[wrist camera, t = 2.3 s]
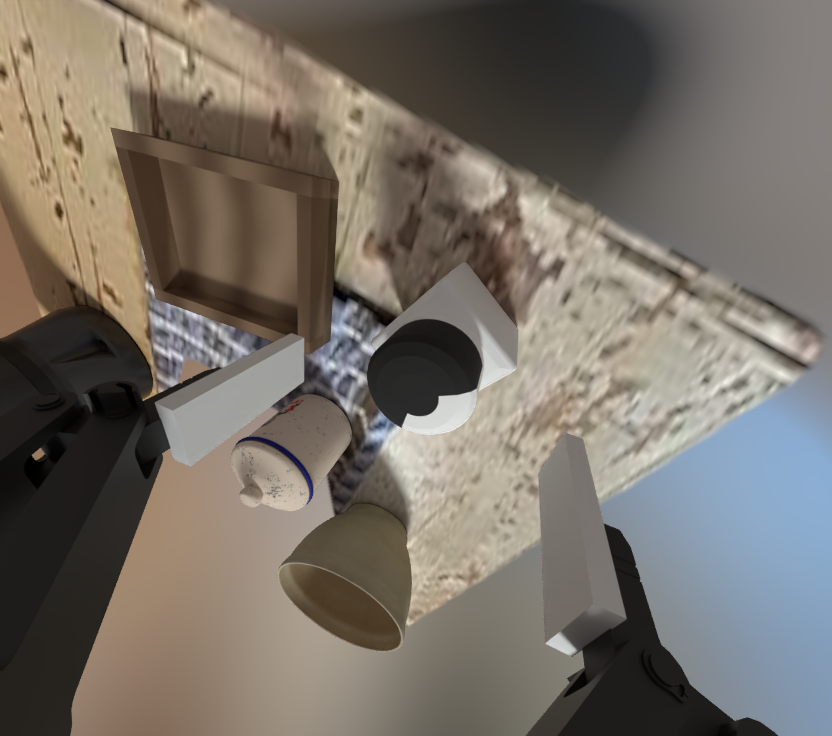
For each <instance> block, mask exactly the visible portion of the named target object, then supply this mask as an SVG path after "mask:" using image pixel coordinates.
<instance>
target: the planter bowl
mask: <svg viewBox="0 0 832 736" xmlns="http://www.w3.org/2000/svg"><path fill="white" fill-rule="evenodd" d="M406 545H407V533H406V530H405V528H404V527H403V525H402V524H401V522H400V521H399V520H398V519H397V518H396V517H395V516H393V515H392V514H391V513H389V512H388V511H386V510H385V509H383V508H380V507H378V506H375V505H372V504H366V503H359V504H355V505H353V506H351V507H350V508H349V509H348V510H347V511H346V512H344V513H341V514H339V515H337V516H334V517H332V518H331V519H329V520H327V521H325V522H324V523H322V524H321V525H319V526H318V527H317V528H315V529H314V530H313V531H312V532H311V533H310V534H308V535H307V536H306V537H305V538H304V539H303V541H302V542H301V543H300V544H299V545H298V546H297V548H296V549H295V550H294V551H293V553H292V554H291V556H289V557H288V558H287V559H286V560H285V561H284V562H283V563H282V564H281V566H280V567H279V569H278V572H277V578H278V582H279V585H280V587H281V589H282V591H283V592H284V594H285V595H286V597H287V598H288V599H289V600H290V601H291V603H292V604H293V605H294V606H295V607H296V608H297V609H298V610H299V611H301V612H302V613H303V614H304V615H305V616H306V617H307V618H309V619H310V620H311V621H313V622H314V623H315V624H317V625H318V626H319V627H321V628H322V629H324V630H325V631H327V632H328V633H330V634H331V635H333V636H335V637H337V638H339V639H341V640H343V641H345V642H347V643H350V644H352V645H355V646H357V647H360V648H364V649H367V650H371V651H376V652H391V651H395V650H397V649H398V648H400V647H401V645H402V642H403V639H404V635H405V624H406V620H407V616H408V612H409V607H410V600H411V589H412V576H411V564H410V558H409V553H408V550H407V546H406Z"/></svg>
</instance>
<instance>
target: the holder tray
mask: <svg viewBox="0 0 832 736" xmlns="http://www.w3.org/2000/svg"><path fill="white" fill-rule="evenodd" d="M110 128H111V127H110ZM111 132H112V135H113V139H114V143H115V147H116V150H117V154H118V158H119V161H120V165H121V169H122V173H123V176H124V180H125V184H126V188H127V191H128V195H129V199H130V203H131V206H132V210H133V214H134V217H135V221H136V225H137V229H138V232H139V236H140V240H141V244H142V247H143V251H144V255H145V259H146V262H147V266H148V270H149V273H150V277H151V281H152V285H153V288H154V292H155V296H156V299H158V300H160V301H163V302H166V303H169V304H171V305H174V306H177V307H180V308H182V309H185V310H188V311H191V312H193V313H196V314H199V315H202V316H204V317H207V318H210V319H213V320H215V321H218V322H221V323H224V324H226V325H229V326H232V327H235V328H237V329H240V330H243V331H246V332H248V333H251V334H254V335H257V336H259V337H262V338H265V339H268V340H270V341H273V342H275V341H277V340H279V339H281V338H283V337H285V336H287V335H289V334H291V333H293V334H295V335H298V336H301V337H304V353H306V354H309V355H310V354H311V353H313V352H314V351H316V350H317V349H319V348H320V347H322V346H323V345H325V344H326V343H328V342H329V341H330V336H331V318H332V299H333V281H334V263H335V244H336V226H337V208H338V190H339V182H338V181H334V180H330V179H326V178H322V177H318V176H314V175H309V174H305V173H301V172H297V171H293V170H289V169H285V168H281V167H277V166H273V165H269V164H265V163H261V162H256V161H252V160H248V159H244V158H240V157H236V156H232V155H228V154H224V153H220V152H216V151H212V150H208V149H204V148H199V147H195V146H191V145H187V144H183V143H179V142H175V141H171V140H167V139H163V138H159V137H154V136H149V135H145V134H140V133H135V132H130V131H125V130H120V129H116V128H111Z"/></svg>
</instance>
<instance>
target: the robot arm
mask: <svg viewBox="0 0 832 736" xmlns="http://www.w3.org/2000/svg"><path fill="white" fill-rule="evenodd" d="M303 382H304V337H301V336H298V335H295V334H293V333H291V334H289V335H287V336H285V337H283V338H281V339H279V340H277V341H275V342H273V343H271V344H269V345H267V346H265V347H263V348H261V349H259V350H257V351H255V352H253V353H251V354H249V355H247V356H245V357H243V358H241V359H239V360H237V361H235V362H233V363H231V364H230V365H228V366H226V367H224V368H220V367H218V368H214V369H211V370H207V371H204V372H202V373H200V374H198V375H196V376H194V377H193V378H192V379H191V378H189V379H188V380H185V381H183V383H182V384H181V383H179V384H177V385H175V386H173V387H171V388H169V389H167V390H165V391H163V392H161V393H159V394H157V395H155V396H153V397H151V398H148V399H146V400H144V401H143V400H142V399H144V398H146V397H148V396H149V395H150V393H151V391H152V386H153V384H152V377H151V373H150V370H149V367H148V365H147V363H146V361H145V359H144V357H143V355H142V354H141V352H140V350H139V349H138V348H137V346H136V345H135V343H134V342H133V341H132V340H131V338H130V337H129V336H128V335H127V334H126V333H125V332H124V331H123V329H121V328H120V327H119V326H118V325H117V324H116V323H115V322H114V321H113V320H111V319H110V318H109V317H107V316H106V315H104V314H103V313H101V312H100V311H98V310H96V309H94V308H91V307H88V306H83V305H79V306H74V307H69V308H64V309H60V310H57V311H54V312H52V313H50V314H48V315H46V316H44V317H42V318H40V319H39V320H37V321H35V322H33V323H31V324H29V325H27V326H26V327H23V328H21V329H20V330H18V331H16V332H14V333H12V334H10V335H8V336H6V337H3V338H0V736H70V734H71V728H72V715H71V714H72V713H71V708H72V702H73V699H74V695H75V692H76V689H77V687H78V684H79V681H80V679H81V676H82V674H83V671H84V668H85V666H86V663H87V660H88V658H89V655H90V652H91V650H92V647H93V644H94V641H95V639H96V636H97V634H98V631H99V628H100V626H101V623H102V620H103V618H104V615H105V612H106V610H107V607H108V605H109V602H110V599H111V597H112V594H113V591H114V588H115V586H116V583H117V581H118V578H119V575H120V572H121V570H122V567H123V565H124V562H125V559H126V557H127V554H128V551H129V549H130V546H131V544H132V541H133V538H134V535H135V533H136V530H137V527H138V525H139V522H140V520H141V517H142V514H143V512H144V509H145V506H146V504H147V501H148V498H149V496H150V493H151V490H152V488H153V485H154V482H155V479H156V477H157V475H158V472H159V469H160V467H161V464H162V461H163V455H162V453H163V452H165V451H166V450H168V449H171V452H172V455H173V458H174V460H177V461H179V462H180V463H183V464H185V465H187V466H189V467H191V466H192V465H193V464H194V463H196V462H197V461H199V460H200V459H201V458H203V457H204V456H205V455H207V454H208V453H209V452H211V451H212V450H213V449H215V448H216V447H217V446H219V445H220V444H221V443H223V442H224V441H225V440H227V439H228V438H229V437H231V436H232V435H233V434H235V433H236V432H237V431H238V430H240V429H241V428H242V427H244V426H245V425H247V424H248V423H249V422H251V421H252V420H253V419H255V418H256V417H257V416H258V415H260V414H261V413H263V412H264V411H265V410H267V409H268V408H269V407H271V406H272V405H273V404H275V403H276V402H277V401H279V400H280V399H281V398H283V397H284V396H285V395H287V394H288V393H289V392H291V391H292V390H293V389H295V388H296V387H297V386H299V385H300V384H301V383H303ZM39 448H42V450H43V451H44V453H45V455H44V456H43V457H41V458H40V459H38V460H35V459H34V458H33V457H32V454H33V453H35V451H37V450H38V449H39ZM538 475H539V500H540V525H541V550H542V575H543V600H544V625H545V644H548V645H549V646H551V647H553V648H555V649H557V650H559V651H561V652H564V653H565V654H567V655H569V656H572V657H573V656H574V655H576V654H577V653H578V652H580V651H581V650H583V658H584V666H585V668H583V669H581V670H580V671H578V672H577V673H575V674H573V675H572V676H570V677H568V678H567V679H568V680H569V682H570V683H569V684H568V685H567V687H566V688H565V689H564V690H563V691H562V693H561V694H560V695H559V696H558V697H557V699H556V700H555V701H554V702H553V703H552V705H551V706H550V707H549V708H548V709H547V711H546V712H545V713H544V714H543V716H542V717H541V718H540V719H539V720H538V722H537V723H536V724H535V725H534V726H533V728H532V729H531V730H530V731H529V732H528V734H527V735H526V736H778V735H777V734H776V733H775V732H773V731H772V730H770V729H769V728H768V727H766V726H765V725H764V724H762V723H761V722H759V721H756V720H753V719H750V718H748V717H747V718H743V719H740V720H736V721H734V720H733V719H732V718H730V717H729V716H728V715H727V714H725V713H724V712H723V711H722V710H720V709H719V708H718V707H717V706H715V705H714V704H713V703H712V702H710V701H709V700H708V699H707V698H705V697H704V696H703V695H702V694H700V693H699V692H698V691H697V690H696V689H695V688H693V687H692V686H691V685H690V684H689V681H688V680H687V678H686V676H685V674H684V672H683V670H682V668H681V666H680V665H679V664H678V662H677V661H676V660H675V659H674V657H673V656H672V655H671V653H670V652H669V651H667V650H666V649H665V648H664V647H663V646H662V645H661V643H660V640H659V638H658V635H657V631H656V628H655V625H654V621H653V618H652V615H651V612H650V609H649V605H648V602H647V599H646V595H645V592H644V589H643V586H642V583H641V582H640V576H639V573H638V570H637V568H636V567H635V566H636V563H635V560H634V556H633V553H632V550H631V547H630V545H629V544H628V542H627V541H626V539H625V538H624V536H623V534H622V533H621V531H620V530H618V529H616V528H613V527H611V526H609V525H606V524H604V523H603V519H602V515H601V511H600V507H599V503H598V499H597V495H596V490H595V486H594V482H593V478H592V474H591V470H590V466H589V462H588V458H587V453H586V449H585V445H584V441H583V439H581V438H579V437H576V436H573V435H570V434H568V433H564V434H563V436H562V438H561V439H560V441H559V442H558V444H557V445H556V447H555V449H554V450H553V452H552V453H551V455H550V456H549V458H548V460H547V461H546V463H545V464H544V466H543V467H542V469H541V471H540V472H539V474H538Z"/></svg>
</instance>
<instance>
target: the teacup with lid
mask: <svg viewBox="0 0 832 736" xmlns="http://www.w3.org/2000/svg"><path fill="white" fill-rule="evenodd" d="M351 438H352V430H351V426H350V423H349V421H348V419H347V417H346V415H345V414H344V413H343V411H342V410H341V409H340V408H339V407H338V406H337V405H335V404H334V403H333V402H331V401H330V400H328V399H326V398H324V397H321V396H318V395H314V394H305V395H301V396H299V397H297V398H295V399H294V400H293V401H292V402H290V403H289V404H288V405H287V406H285V407H284V408H283V409H282V410H281V411H279V412H278V413H277V414H276V415H274V416H273V417H272V418H271V419H270V420H268V421H267V422H266V423H265V424H263V425H262V426H261V427H260V428H258V429H257V430H256V431H255V432H254V433H252V434H251V435H250V436H249V437H246V438H243V439H241V440H240V441H239V442H238V443H237V444H236V446H235V447H234V449H233V451H232V454H231V465H232V469H233V471H234V473H235V475H236V477H237V479H238V480H239V481H240V483H241V485H242V487H243V490H242V491H241V492H240V499H241V501H242V502H243V503H244V504H245V505H247V506H249V507H255V506H258V505H259V504H260V503H262V504H266V505H269V506H271V507H273V508H276V509H279V510H284V511H294V510H297V509H300V508H302V507H304V506H305V505H306V504H308V503H309V502H310V500H311V499H312V496H313V492H314V491H315V490H316V488H317V487H318V486H319V484H320V483H321V482H322V480H323V479H324V478H325V476H326V475H327V474H328V472H329V471H330V470H331V468H332V467H333V466H334V464H335V463H336V462H337V460H338V459H339V458H340V456H341V455H342V454H343V452H344V451H345V450H346V448H347V447H348V446H349V444H350V442H351Z"/></svg>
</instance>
